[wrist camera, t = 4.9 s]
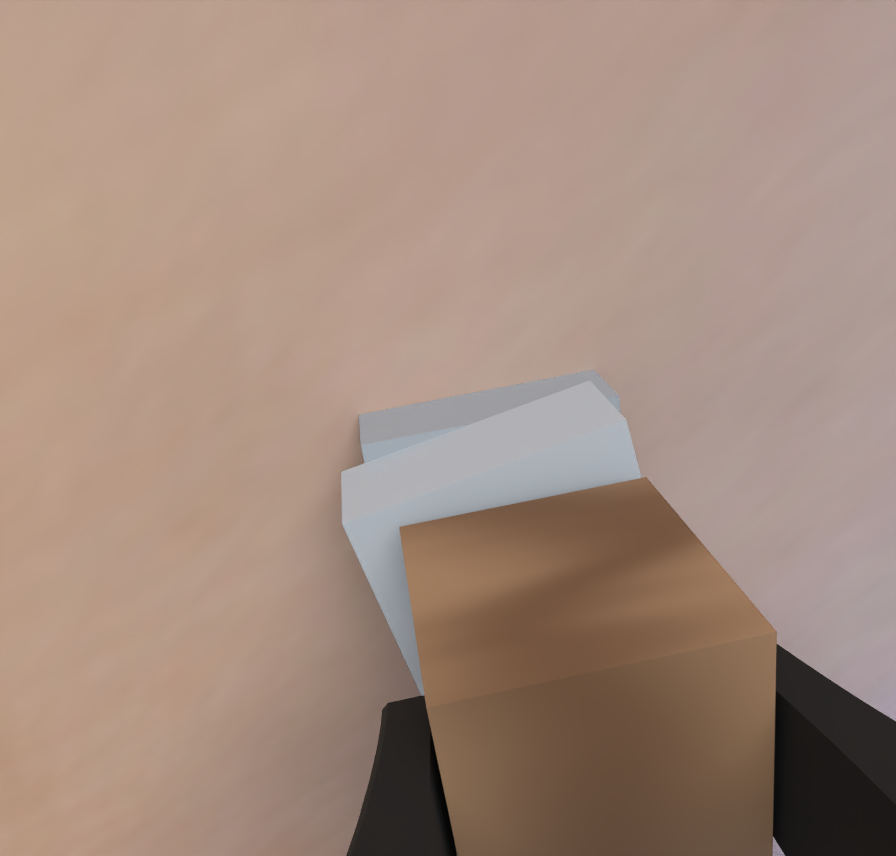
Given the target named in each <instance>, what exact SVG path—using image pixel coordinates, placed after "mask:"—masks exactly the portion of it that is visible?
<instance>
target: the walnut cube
mask: <svg viewBox="0 0 896 856" xmlns="http://www.w3.org/2000/svg"><path fill="white" fill-rule="evenodd" d="M399 530H400V536H401V543H402V549H403V556H404V563H405V569H406V576H407V583H408V589H409V596H410V602H411V609H412V616H413V622H414V629H415V635H416V642H417V649H418V655H419V662H420V669H421V675H422V682H423V688H424V695H425V702H426V708H427V713H428V718H429V722H430V727H431V732H432V736H433V741H434V746H435V751H436V755H437V760H438V765H439V770H440V774H441V779H442V784H443V789H444V793H445V798H446V803H447V807H448V812H449V817H450V822H451V826H452V831H453V836H454V841H455V845H456V850H457V855H458V856H772V851H773V799H774V747H775V695H776V643H777V632H776V630H775V629H774V628H773V627H772V626H771V624H770V623H769V622H768V621H767V620H766V619H765V617H764V616H763V615H762V614H761V613H760V611H759V610H758V609H757V608H756V607H755V605H754V604H753V603H752V602H751V601H750V600H749V598H748V597H747V596H746V595H745V594H744V592H743V591H742V590H741V589H740V588H739V587H738V585H737V584H736V583H735V582H734V581H733V579H732V578H731V577H730V576H729V575H728V573H727V572H726V571H725V570H724V569H723V568H722V566H721V565H720V564H719V563H718V562H717V560H716V559H715V558H714V557H713V556H712V555H711V553H710V552H709V551H708V550H707V549H706V547H705V546H704V545H703V544H702V543H701V541H700V540H699V539H698V538H697V537H696V536H695V534H694V533H693V532H692V531H691V530H690V528H689V527H688V526H687V525H686V524H685V522H684V521H683V520H682V519H681V518H680V517H679V515H678V514H677V513H676V512H675V511H674V509H673V508H672V507H671V506H670V505H669V504H668V502H667V501H666V500H665V499H664V498H663V496H662V495H661V494H660V493H659V492H658V490H657V489H656V488H655V487H654V486H653V485H652V483H651V482H650V481H649V480H648V479H647V477H644V478H639V479H634V480H629V481H624V482H619V483H614V484H609V485H604V486H599V487H594V488H589V489H584V490H579V491H574V492H569V493H564V494H560V495H555V496H550V497H545V498H540V499H535V500H530V501H525V502H520V503H515V504H510V505H505V506H500V507H495V508H490V509H485V510H480V511H475V512H470V513H465V514H460V515H455V516H450V517H445V518H441V519H436V520H431V521H426V522H421V523H416V524H411V525H406V526H401V527H399Z"/></svg>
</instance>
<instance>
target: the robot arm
mask: <svg viewBox="0 0 896 856" xmlns="http://www.w3.org/2000/svg"><path fill="white" fill-rule="evenodd" d="M773 837H774V838H775V840H776V842H777V843H778V845H779V846H780V848H781V849H782V851H783V853H784V854H785V856H896V721H894V720H892V719H891V718H889V717H888V716H886V715H884V714H883V713H881V712H879V711H878V710H876V709H874V708H873V707H871V706H870V705H868V704H866V703H865V702H863V701H862V700H860V699H859V698H857V697H855V696H854V695H852V694H851V693H849V692H848V691H846V690H844V689H843V688H841V687H840V686H838V685H837V684H835V683H834V682H832V681H831V680H829V679H828V678H826V677H825V676H823V675H822V674H820V673H819V672H817V671H816V670H814V669H813V668H811V667H810V666H808V665H807V664H805V663H804V662H802V661H801V660H799V659H798V658H797V657H795V656H794V655H792V654H791V653H789V652H788V651H786V650H785V649H783V648H782V647H781V646H779V645H778V644H776V695H775V747H774V799H773ZM346 856H457V853H456V847H455V841H454V836H453V831H452V826H451V822H450V817H449V812H448V807H447V803H446V798H445V793H444V789H443V784H442V779H441V774H440V770H439V765H438V760H437V755H436V751H435V746H434V741H433V736H432V732H431V727H430V722H429V718H428V713H427V708H426V702H425V695H423V696H418V697H414V698H409V699H405V700H400V701H395V702H391V703H388V704H387V705H386V706H385V707H384V709H383V710H382V719H381V727H380V734H379V740H378V745H377V750H376V755H375V760H374V764H373V768H372V773H371V777H370V781H369V784H368V788H367V791H366V795H365V798H364V802H363V806H362V809H361V813H360V816H359V820H358V823H357V826H356V829H355V832H354V835H353V838H352V841H351V844H350V847H349V849H348V852H347V855H346Z"/></svg>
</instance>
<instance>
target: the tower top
mask: <svg viewBox="0 0 896 856" xmlns="http://www.w3.org/2000/svg"><path fill="white" fill-rule="evenodd" d="M639 478H641V474H640V470H639V466H638V463H637V459H636V455H635V451H634V447H633V444H632V440H631V436H630V432H629V428H628V425H627V421H626V419H625V418H624V417H623V416H622V415H621V413H620V412H619V411H618V410H617V409H616V408H615V407H614V406H613V405H612V404H611V403H610V402H609V400H608V399H607V398H606V397H605V396H604V395H603V394H602V393H601V392H600V391H599V390H598V389H597V387H596V386H595V385H594V384H593V383H592V382H591V381H587V382H584V383H581V384H579V385H576V386H573V387H571V388H568V389H565V390H562V391H560V392H557V393H554V394H551V395H549V396H546V397H543V398H541V399H538V400H535V401H532V402H530V403H527V404H524V405H522V406H519V407H516V408H513V409H511V410H508V411H505V412H502V413H500V414H497V415H494V416H492V417H489V418H486V419H483V420H481V421H478V422H475V423H473V424H470V425H467V426H464V427H462V428H459V429H456V430H454V431H451V432H448V433H445V434H443V435H440V436H437V437H434V438H432V439H429V440H426V441H424V442H421V443H418V444H415V445H413V446H410V447H407V448H405V449H402V450H399V451H396V452H394V453H391V454H388V455H385V456H383V457H380V458H377V459H375V460H372V461H369V462H366V463H364V464H361V465H358V466H356V467H353V468H350V469H347V470H345V471H342V472H341V487H342V525H343V527H344V529H345V531H346V534H347V536H348V538H349V540H350V542H351V544H352V547H353V549H354V551H355V553H356V555H357V557H358V560H359V562H360V564H361V566H362V568H363V570H364V573H365V575H366V577H367V579H368V581H369V583H370V585H371V588H372V590H373V592H374V594H375V596H376V598H377V601H378V603H379V605H380V607H381V609H382V611H383V614H384V616H385V618H386V620H387V622H388V624H389V627H390V629H391V631H392V633H393V635H394V637H395V640H396V642H397V644H398V646H399V648H400V650H401V653H402V655H403V657H404V659H405V661H406V663H407V666H408V668H409V670H410V672H411V674H412V676H413V679H414V681H415V683H416V685H417V687H418V689H419V692H420V694H421V696H423V695H424V688H423V682H422V675H421V669H420V662H419V655H418V649H417V642H416V635H415V629H414V622H413V616H412V609H411V602H410V596H409V589H408V583H407V576H406V569H405V563H404V556H403V549H402V543H401V536H400V530H399V527H401V526H406V525H411V524H416V523H421V522H426V521H431V520H436V519H441V518H445V517H450V516H455V515H460V514H465V513H470V512H475V511H480V510H485V509H490V508H495V507H500V506H505V505H510V504H515V503H520V502H525V501H530V500H535V499H540V498H545V497H550V496H555V495H560V494H564V493H569V492H574V491H579V490H584V489H589V488H594V487H599V486H604V485H609V484H614V483H619V482H624V481H629V480H634V479H639Z"/></svg>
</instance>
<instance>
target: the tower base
mask: <svg viewBox="0 0 896 856" xmlns="http://www.w3.org/2000/svg"><path fill="white" fill-rule="evenodd" d="M587 381H591V382H592V383H593V384H594V385H595V386H596V387H597V389H598V390H599V391H600V392H601V393H602V394H603V395H604V396H605V397H606V398H607V399H608V400H609V402H610V403H611V404H612V405H613V406H614V407H615V408H616V409H617V410H618V411H619V412H620V403H619V395H618V394H617V393H616V392H615V391H614V390H613V389H612V388H611V387H610V386H609V385H608V384H607V383H606V382H605V380H604V379H603V378H602V377H601V376H600V375H599V374H598V373H597V372H596V371H595V370H590V371H585V372H580V373H574V374H569V375H564V376H559V377H553V378H548V379H543V380H538V381H532V382H527V383H522V384H517V385H511V386H506V387H501V388H496V389H491V390H485V391H480V392H475V393H470V394H464V395H459V396H454V397H449V398H443V399H438V400H433V401H428V402H422V403H417V404H412V405H407V406H401V407H396V408H391V409H386V410H380V411H375V412H370V413H365V414H359V427H360V441H361V449H362V453H363V458H364V462H365V463H366V462H369V461H372V460H375V459H377V458H380V457H383V456H385V455H388V454H391V453H394V452H396V451H399V450H402V449H405V448H407V447H410V446H413V445H415V444H418V443H421V442H424V441H426V440H429V439H432V438H434V437H437V436H440V435H443V434H445V433H448V432H451V431H454V430H456V429H459V428H462V427H464V426H467V425H470V424H473V423H475V422H478V421H481V420H483V419H486V418H489V417H492V416H494V415H497V414H500V413H502V412H505V411H508V410H511V409H513V408H516V407H519V406H522V405H524V404H527V403H530V402H532V401H535V400H538V399H541V398H543V397H546V396H549V395H551V394H554V393H557V392H560V391H562V390H565V389H568V388H571V387H573V386H576V385H579V384H581V383H584V382H587Z"/></svg>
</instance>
